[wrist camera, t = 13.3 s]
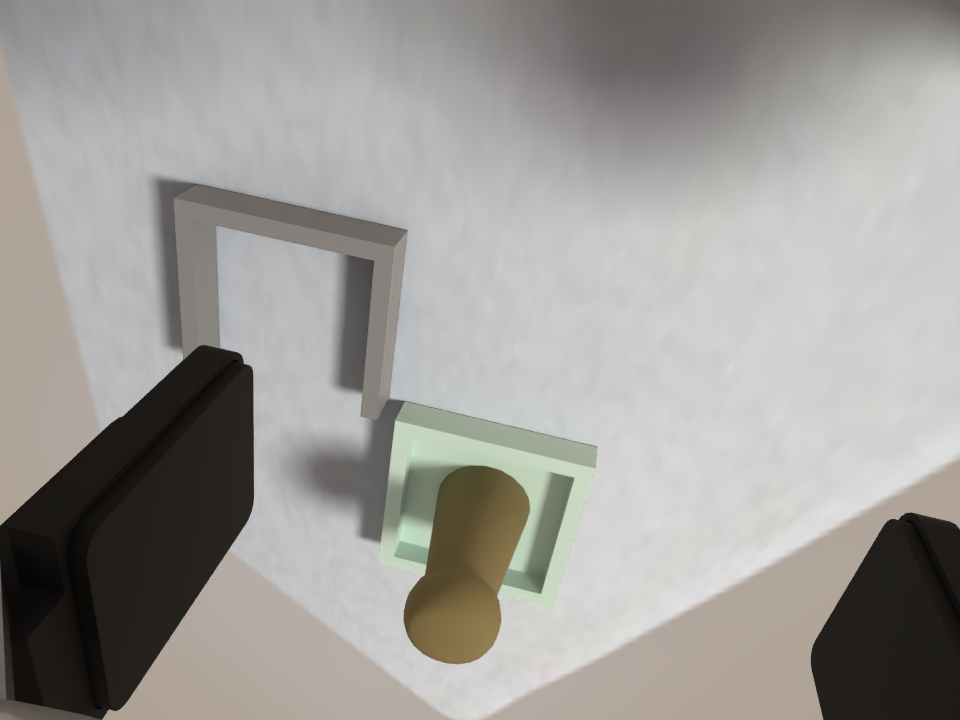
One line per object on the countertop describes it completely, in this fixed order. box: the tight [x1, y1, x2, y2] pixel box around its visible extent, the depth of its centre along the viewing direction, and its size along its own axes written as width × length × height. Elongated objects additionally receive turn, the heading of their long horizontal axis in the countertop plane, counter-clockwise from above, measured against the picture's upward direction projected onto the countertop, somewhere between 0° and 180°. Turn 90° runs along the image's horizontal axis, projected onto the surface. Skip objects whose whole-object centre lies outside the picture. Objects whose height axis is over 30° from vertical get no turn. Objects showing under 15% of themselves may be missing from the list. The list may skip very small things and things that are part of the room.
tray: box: [378, 401, 597, 608], centre depth 47 cm, size 12×12×2 cm
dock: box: [173, 184, 408, 420], centre depth 42 cm, size 12×11×2 cm
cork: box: [404, 466, 530, 664], centre depth 43 cm, size 6×6×11 cm
